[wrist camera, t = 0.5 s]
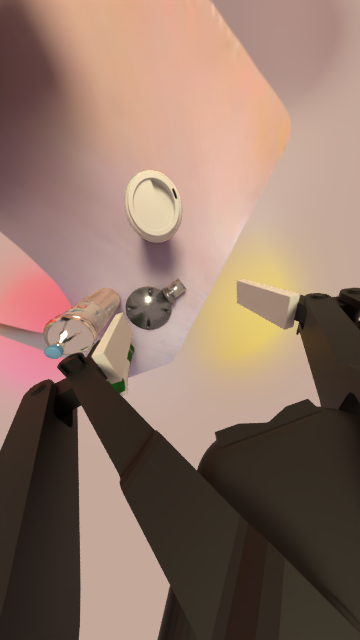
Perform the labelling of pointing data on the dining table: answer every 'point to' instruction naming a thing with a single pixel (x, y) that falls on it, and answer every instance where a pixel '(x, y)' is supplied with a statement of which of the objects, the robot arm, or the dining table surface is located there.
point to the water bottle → (80, 324)
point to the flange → (152, 305)
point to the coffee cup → (153, 206)
